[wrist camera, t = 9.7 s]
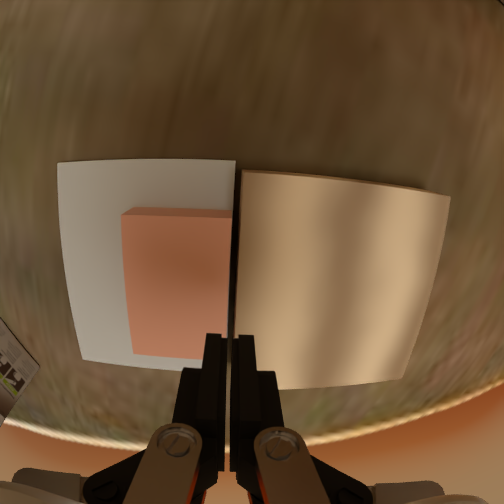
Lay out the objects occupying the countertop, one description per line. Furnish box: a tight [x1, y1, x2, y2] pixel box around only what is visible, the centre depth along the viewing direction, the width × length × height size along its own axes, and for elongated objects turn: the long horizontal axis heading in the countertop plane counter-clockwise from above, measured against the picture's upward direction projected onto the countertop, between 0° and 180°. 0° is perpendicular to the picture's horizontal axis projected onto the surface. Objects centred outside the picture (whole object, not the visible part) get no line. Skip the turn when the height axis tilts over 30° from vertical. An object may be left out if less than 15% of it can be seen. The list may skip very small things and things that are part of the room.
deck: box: [233, 169, 451, 389], centre depth 20 cm, size 13×14×3 cm
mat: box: [57, 159, 236, 371], centre depth 20 cm, size 12×15×1 cm
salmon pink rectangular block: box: [121, 207, 232, 360], centre depth 18 cm, size 6×9×2 cm, turn 176°
